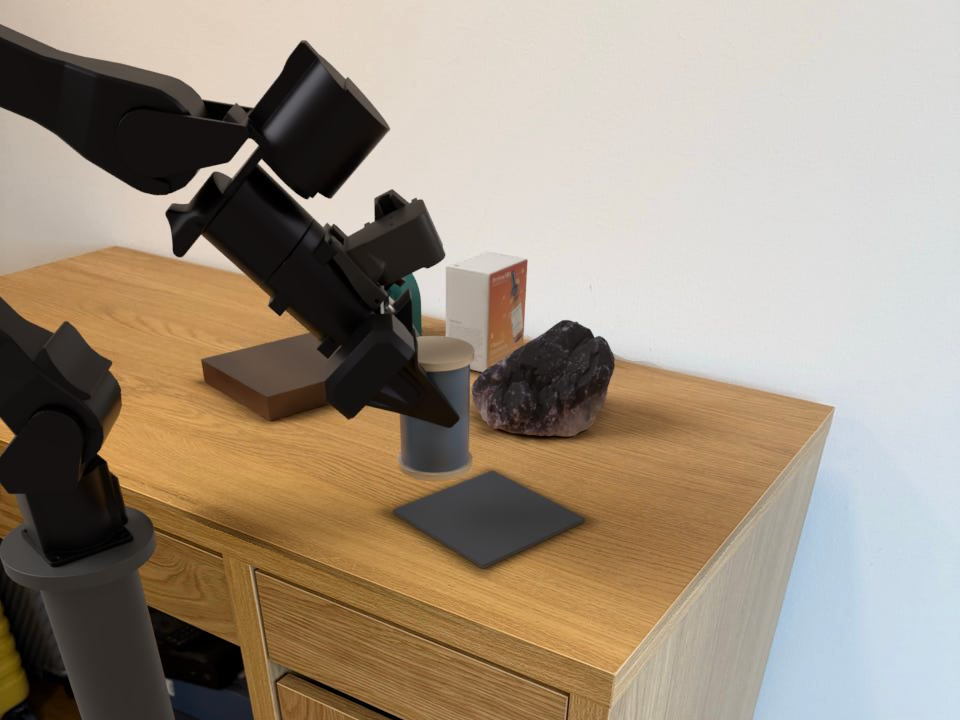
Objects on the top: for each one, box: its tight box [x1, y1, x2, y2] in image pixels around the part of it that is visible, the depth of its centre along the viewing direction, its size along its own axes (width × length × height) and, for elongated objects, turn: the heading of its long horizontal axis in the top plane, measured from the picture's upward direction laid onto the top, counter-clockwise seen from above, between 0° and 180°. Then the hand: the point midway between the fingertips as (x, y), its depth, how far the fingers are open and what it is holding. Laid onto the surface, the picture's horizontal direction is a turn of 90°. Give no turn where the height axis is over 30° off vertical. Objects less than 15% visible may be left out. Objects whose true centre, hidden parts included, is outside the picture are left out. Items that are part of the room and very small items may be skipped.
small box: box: [445, 250, 529, 373], centre depth 99 cm, size 8×6×10 cm
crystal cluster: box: [471, 319, 616, 437], centre depth 88 cm, size 13×14×10 cm
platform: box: [200, 332, 341, 422], centre depth 95 cm, size 15×13×2 cm
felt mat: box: [392, 470, 586, 570], centre depth 74 cm, size 11×11×1 cm
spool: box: [396, 335, 474, 482], centre depth 68 cm, size 6×6×9 cm
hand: (452, 407), depth 68 cm, fingers closed on spool, 5 cm apart
